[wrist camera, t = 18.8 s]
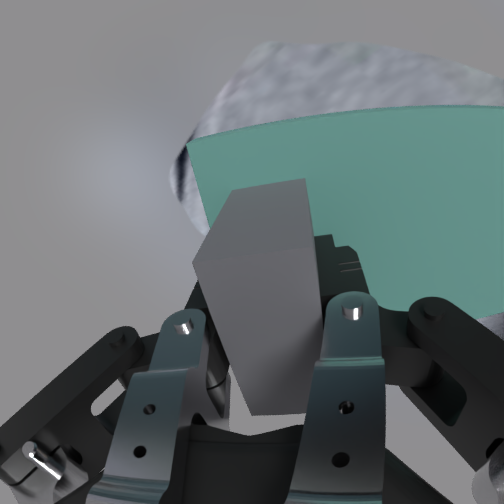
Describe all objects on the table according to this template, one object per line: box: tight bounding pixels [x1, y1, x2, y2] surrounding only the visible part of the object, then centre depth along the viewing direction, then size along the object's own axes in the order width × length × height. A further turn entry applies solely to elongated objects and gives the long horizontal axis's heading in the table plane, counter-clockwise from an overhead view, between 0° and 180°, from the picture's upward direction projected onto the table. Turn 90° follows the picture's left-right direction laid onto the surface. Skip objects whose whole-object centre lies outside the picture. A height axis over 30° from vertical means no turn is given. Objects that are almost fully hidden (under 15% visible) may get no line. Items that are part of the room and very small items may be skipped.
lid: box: [186, 105, 504, 416], centre depth 10 cm, size 14×10×7 cm
